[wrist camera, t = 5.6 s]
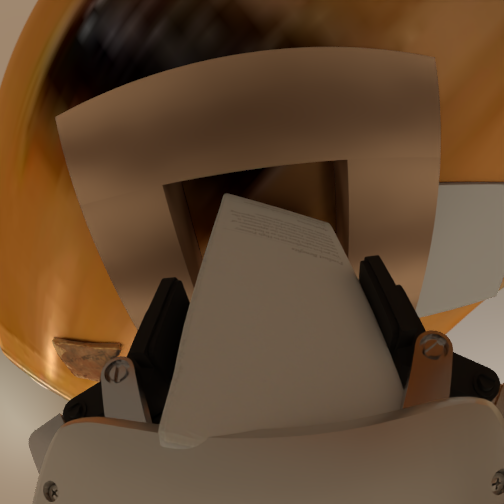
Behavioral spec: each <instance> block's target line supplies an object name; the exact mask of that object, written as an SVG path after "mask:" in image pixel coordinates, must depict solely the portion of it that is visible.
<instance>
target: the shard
mask: <svg viewBox="0 0 504 504" xmlns="http://www.w3.org/2000/svg"><path fill="white" fill-rule="evenodd" d="M52 342H53V345H54V347H55V349H56V351H57V354H58V355H59V357H60V358H61V359H62V361H63V362H64V363H65V364H66V366H67V367H68V368H69V369H70V371H71V372H72V373H73V374H74V375H75V376H76V377H79V378H84V379H89V380H93V381H98V382H100V381H101V372H102V369H103V367H104V366H105V365H106V363H107V362H109V361H110V360H111V359H113V358H116V357H117V356H119V355H120V352H121V348H120V343H89V342H88V343H84V342H77V341H71V340H66V339H61V338H54V339H53V340H52Z"/></svg>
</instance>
